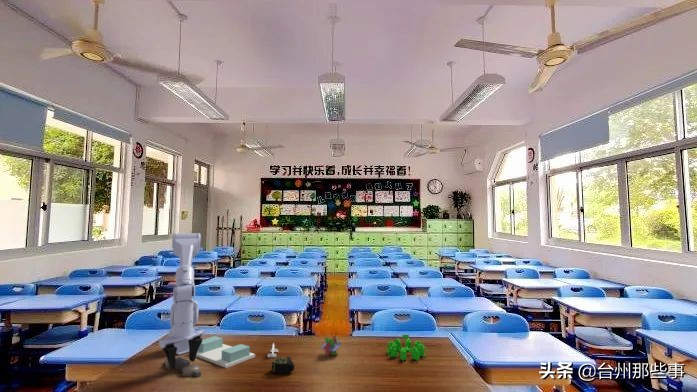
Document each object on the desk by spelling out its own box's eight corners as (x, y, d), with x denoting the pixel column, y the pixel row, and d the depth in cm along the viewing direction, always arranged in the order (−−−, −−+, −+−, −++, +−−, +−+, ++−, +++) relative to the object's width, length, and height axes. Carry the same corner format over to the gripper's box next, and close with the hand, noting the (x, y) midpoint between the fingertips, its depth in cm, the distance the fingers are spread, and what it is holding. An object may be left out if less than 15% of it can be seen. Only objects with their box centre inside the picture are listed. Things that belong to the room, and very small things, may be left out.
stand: (189, 354, 131) (190, 342, 131) (218, 345, 140) (218, 334, 141) (226, 367, 118) (226, 355, 118) (255, 356, 127) (255, 345, 128)
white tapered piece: (265, 353, 133) (265, 340, 133) (283, 352, 133) (283, 340, 133) (256, 369, 118) (256, 355, 118) (277, 368, 118) (277, 354, 118)
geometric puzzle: (328, 355, 123) (337, 333, 127) (314, 351, 127) (323, 329, 131) (338, 363, 127) (346, 341, 131) (324, 358, 131) (332, 337, 135)
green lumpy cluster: (436, 358, 125) (435, 338, 126) (400, 366, 119) (400, 345, 119) (410, 345, 139) (410, 327, 139) (377, 352, 132) (377, 333, 133)
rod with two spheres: (159, 364, 121) (159, 355, 121) (173, 360, 125) (173, 351, 125) (191, 379, 109) (192, 369, 109) (206, 374, 113) (206, 364, 113)
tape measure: (294, 374, 112) (294, 362, 113) (272, 377, 110) (272, 365, 111) (291, 366, 119) (291, 355, 119) (270, 369, 117) (270, 357, 117)
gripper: (167, 328, 110) (166, 374, 109) (210, 318, 122) (209, 359, 120) (156, 325, 114) (154, 369, 113) (198, 315, 126) (197, 355, 125)
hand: (182, 364), depth 117 cm, fingers open, 6 cm apart
